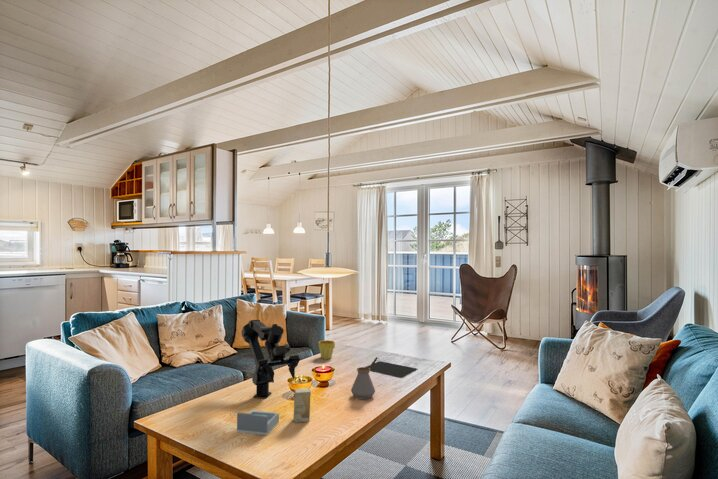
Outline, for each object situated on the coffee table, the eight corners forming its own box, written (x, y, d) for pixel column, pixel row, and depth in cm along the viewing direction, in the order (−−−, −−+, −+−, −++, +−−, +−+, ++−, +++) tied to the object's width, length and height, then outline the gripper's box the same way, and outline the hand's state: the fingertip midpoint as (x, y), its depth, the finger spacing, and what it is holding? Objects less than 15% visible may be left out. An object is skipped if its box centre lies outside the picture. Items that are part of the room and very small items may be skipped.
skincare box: (294, 423, 161) (294, 392, 161) (293, 418, 165) (293, 388, 165) (310, 421, 162) (310, 391, 162) (308, 417, 166) (309, 387, 167)
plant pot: (336, 355, 260) (336, 340, 260) (332, 360, 249) (333, 344, 249) (320, 354, 261) (320, 339, 261) (316, 359, 251) (316, 343, 251)
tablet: (418, 368, 233) (401, 377, 217) (418, 370, 233) (401, 379, 217) (379, 361, 249) (361, 368, 232) (379, 362, 249) (361, 370, 232)
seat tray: (251, 418, 164) (251, 401, 164) (278, 421, 162) (279, 404, 162) (236, 432, 152) (237, 413, 152) (266, 435, 150) (266, 416, 150)
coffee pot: (368, 402, 183) (368, 369, 183) (346, 397, 188) (346, 365, 188) (387, 388, 201) (387, 358, 202) (367, 384, 207) (367, 355, 207)
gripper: (257, 341, 170) (266, 371, 159) (297, 336, 180) (309, 364, 169) (251, 357, 175) (260, 388, 165) (291, 352, 185) (302, 380, 175)
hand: (283, 380), depth 168 cm, fingers open, 9 cm apart
